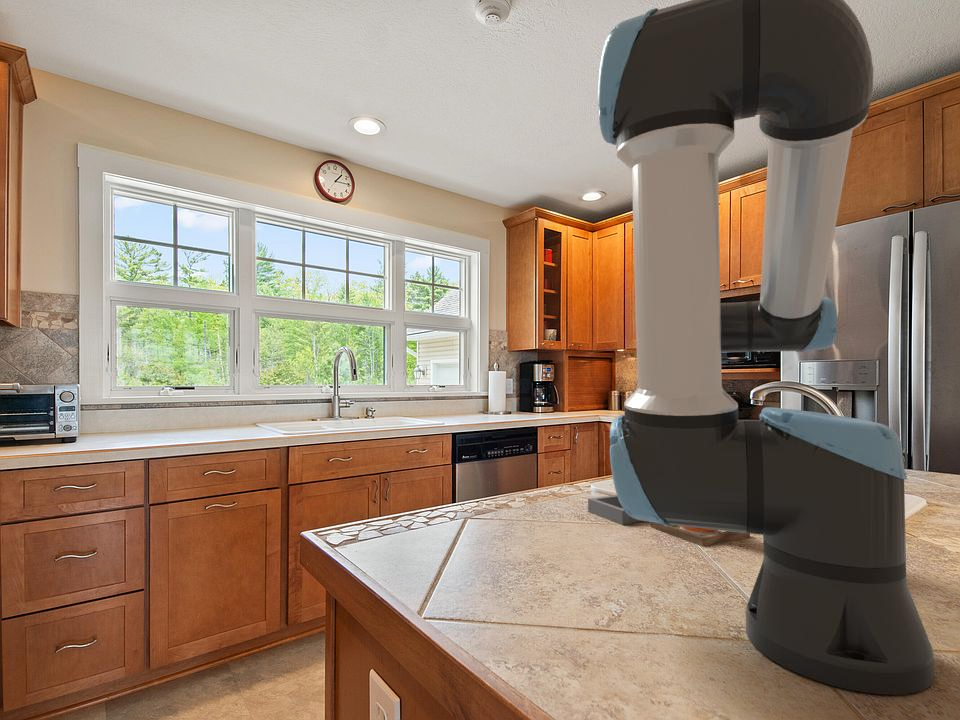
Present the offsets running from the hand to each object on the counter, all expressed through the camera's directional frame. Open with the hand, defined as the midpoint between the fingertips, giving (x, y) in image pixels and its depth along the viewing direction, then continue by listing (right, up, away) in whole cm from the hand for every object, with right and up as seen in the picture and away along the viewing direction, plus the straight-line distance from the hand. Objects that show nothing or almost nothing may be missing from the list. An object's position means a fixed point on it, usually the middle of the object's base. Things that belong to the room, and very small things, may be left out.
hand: (698, 519), depth 89 cm
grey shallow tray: (-5, -2, +13) cm, 14 cm away
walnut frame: (0, -2, 0) cm, 2 cm away
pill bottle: (0, -2, 0) cm, 2 cm away
